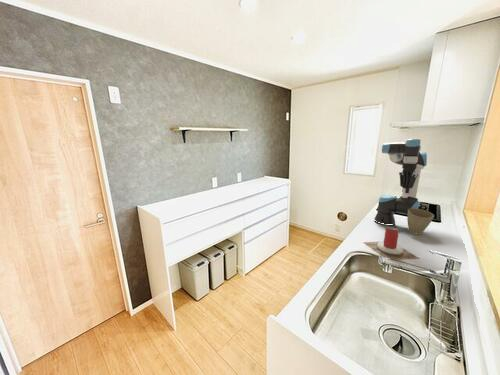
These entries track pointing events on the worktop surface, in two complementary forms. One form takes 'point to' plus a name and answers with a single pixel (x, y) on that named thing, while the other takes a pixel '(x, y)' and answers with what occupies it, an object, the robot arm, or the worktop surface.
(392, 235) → the beer can
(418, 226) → the plant pot
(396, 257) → the board
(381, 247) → the white oval dish
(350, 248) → the worktop surface
